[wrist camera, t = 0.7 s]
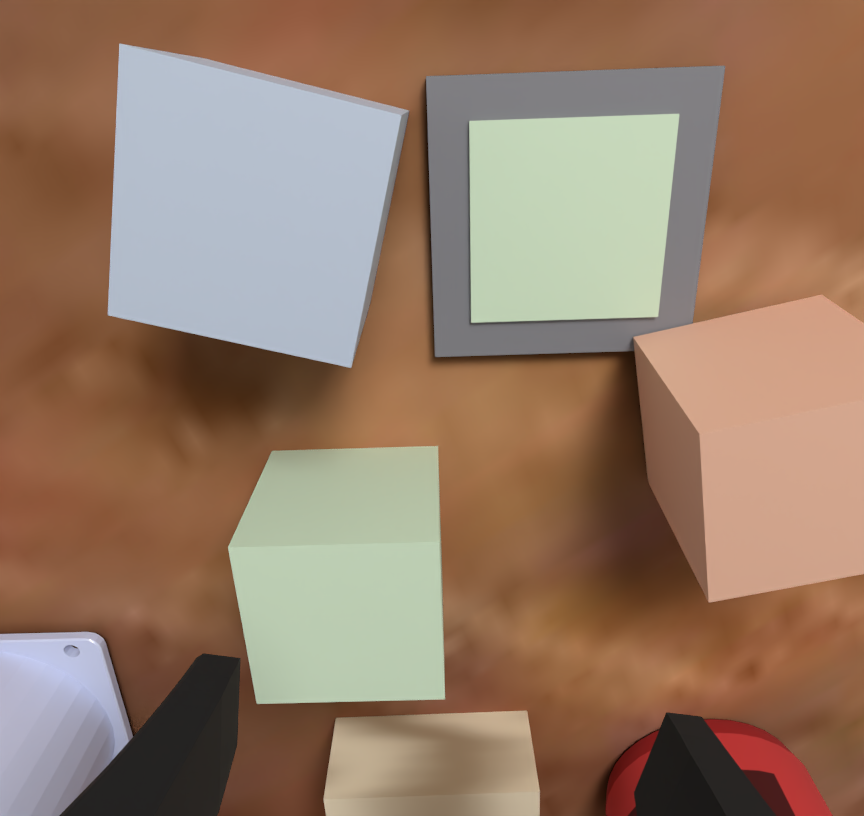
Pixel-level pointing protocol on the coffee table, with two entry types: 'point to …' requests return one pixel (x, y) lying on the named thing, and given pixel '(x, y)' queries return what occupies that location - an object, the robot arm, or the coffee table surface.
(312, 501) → the sage cube
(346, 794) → the maple slab
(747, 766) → the canned food
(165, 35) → the coffee table surface
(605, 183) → the tile
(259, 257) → the slate blue cube
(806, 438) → the terracotta cube
